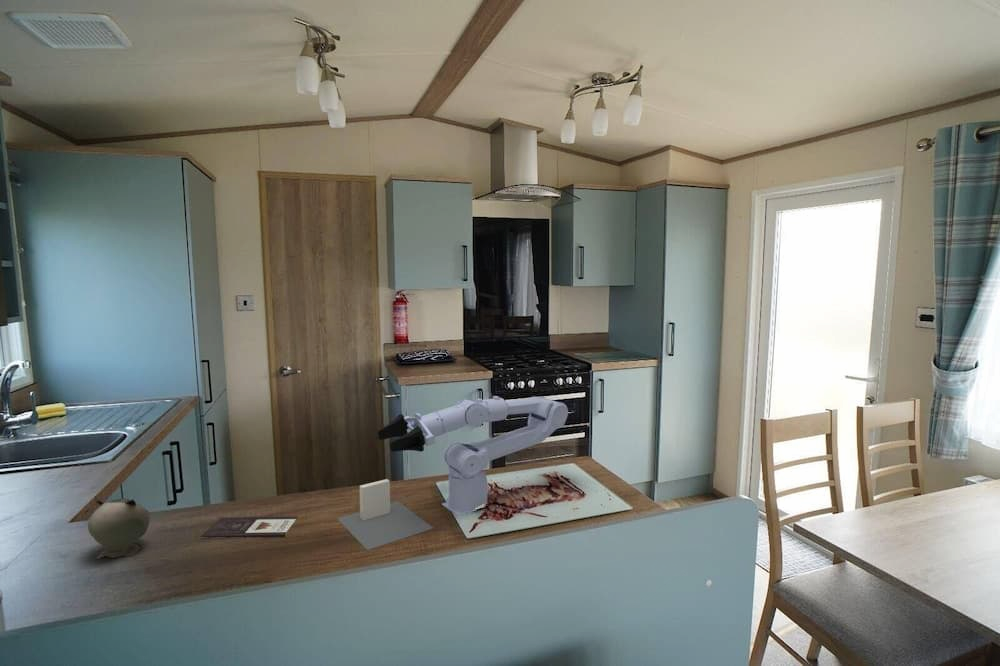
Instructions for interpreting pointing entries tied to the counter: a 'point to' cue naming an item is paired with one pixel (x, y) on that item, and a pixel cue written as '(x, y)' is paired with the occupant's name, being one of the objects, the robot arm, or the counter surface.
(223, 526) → the chocolate bar
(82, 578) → the counter surface
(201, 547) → the counter surface
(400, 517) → the mat
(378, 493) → the tile
